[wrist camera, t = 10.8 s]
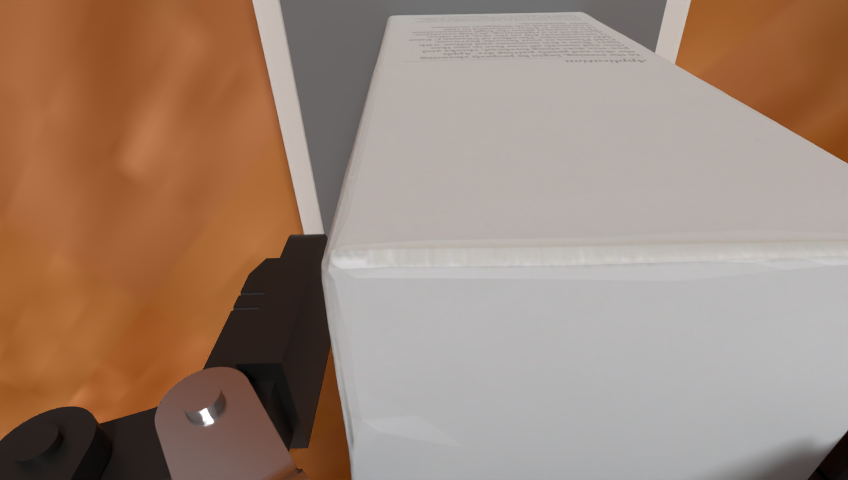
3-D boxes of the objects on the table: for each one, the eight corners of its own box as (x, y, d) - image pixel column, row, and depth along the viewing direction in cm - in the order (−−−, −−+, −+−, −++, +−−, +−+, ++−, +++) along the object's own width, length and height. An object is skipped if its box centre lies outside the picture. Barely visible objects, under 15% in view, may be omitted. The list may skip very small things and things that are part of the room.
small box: (553, 223, 19) (718, 607, 9) (397, 226, 19) (371, 613, 9) (589, 4, 15) (1038, 249, 4) (385, 8, 15) (294, 263, 4)
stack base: (668, -115, 16) (731, -121, 13) (598, 226, 24) (626, 275, 21) (264, -96, 16) (225, -97, 13) (326, 236, 24) (312, 286, 21)
